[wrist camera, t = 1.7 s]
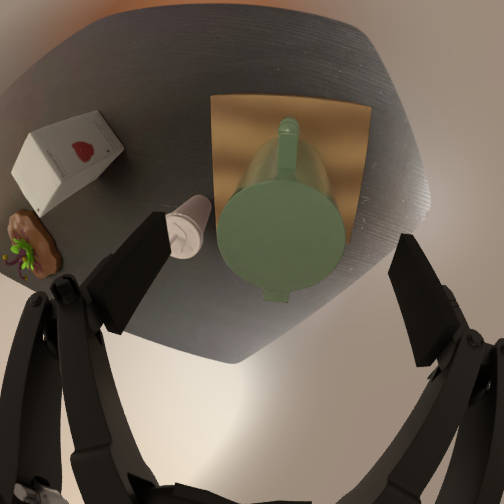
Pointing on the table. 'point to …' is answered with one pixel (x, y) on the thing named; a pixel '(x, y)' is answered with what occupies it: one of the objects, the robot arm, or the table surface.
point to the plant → (32, 245)
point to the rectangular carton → (64, 159)
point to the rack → (311, 130)
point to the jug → (283, 218)
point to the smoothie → (188, 226)
